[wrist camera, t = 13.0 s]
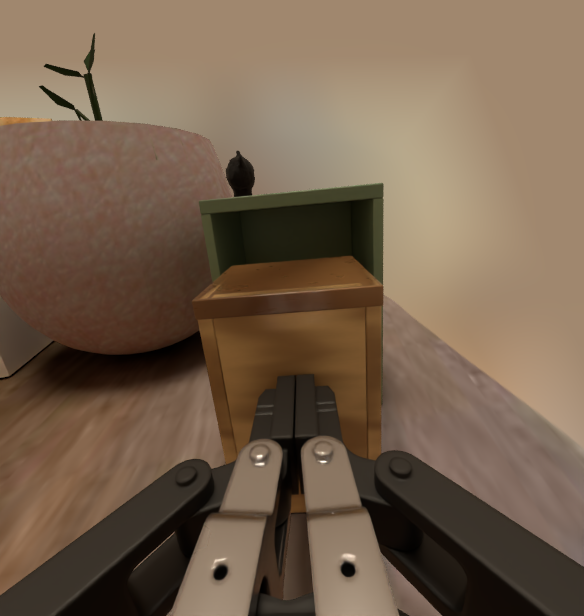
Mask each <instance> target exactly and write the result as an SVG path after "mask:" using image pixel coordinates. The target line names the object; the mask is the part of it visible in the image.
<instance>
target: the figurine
mask: <svg viewBox="0 0 584 616" xmlns="http://www.w3.org/2000/svg"><path fill="white" fill-rule="evenodd" d="M236 153H237V156H236V157H235V158H232V159H231V160H230V162H229V164H228V167H227V169H226V176H227V177H226V178H227V180H228V182H229V185H230V186H231V188H232V189H233V191H234V197H241V196H252V187H253V185H254V180H255V177H254V169H253V166H252V165H251V163H250V162H249V161H248V160H247V159H245V158H244V157H242V155H241V154H240V152H239V151H237V152H236ZM239 212H240V211H239Z"/></svg>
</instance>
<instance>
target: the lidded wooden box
mask: <svg viewBox="0 0 584 616" xmlns="http://www.w3.org/2000/svg"><path fill="white" fill-rule="evenodd" d="M192 305H193V310H194V315H195V319H196V320H198V325H199V330H200V335H201V340H202V345H203V350H204V355H205V360H206V365H207V370H208V376H209V381H210V386H211V391H212V396H213V401H214V406H215V411H216V416H217V421H218V426H219V431H220V436H221V441H222V446H223V451H224V456H225V461H226V464H229V463H231V462H233V461H235V460H236V459H237V457H238V454H239V452H240V451H241V449H242V448H243V447H244V446H245V445H246V444H248V443H249V439H250V435H251V430H252V426H253V421H254V416H255V412H256V408H257V403H258V398H259V396H260V395H261V394H262V393H263V392H264V390H265V389H276V384H277V377H278V376H288V375H295V376H296V377H297V375H303V374H314V381H315V386H327V385H328V386H329V387H330V388H331V389H332V391H333V392H334V393H335V399H336V405H337V411H338V416H339V422H340V428H341V434H342V439H343V442H344V444H345V446H346V447H347V449H348V450H349V451H351V452H352V453H354V454H355V455H357V456H360V457H363V458H367V459H371V460H375V461H376V459H377V457H378V456H379V455H381V306H383V285H382V284H381V283H380V282H379V281H378V280H377V279H376V278H375V277H374V276H372V275H371V274H370V273H369V272H368V271H367V270H366V269H365V268H364V267H363V266H362V265H361V264H360V263H359V262H358V261H357V260H356V259H355V258H353V257H352V256H341V257H329V258H317V259H306V260H294V261H282V262H270V263H258V264H246V265H235V266H231V267H230V268H229V269H228V270H226V271H225V272H224V273H223V274H222V275H221V276H220V277H218V278H217V279H216V280H215V281H214V282H213V283H212V284H210V285H209V286H208V287H207V288H206V289H205V290H204V291H202V292H201V293H200V294H199V295H198V296H197V297H196V298H194V299H193V300H192ZM300 512H306V505H305V494H301V491H300V481H299V495H292V498H291V511H290V513H300Z"/></svg>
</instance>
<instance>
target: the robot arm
mask: <svg viewBox="0 0 584 616" xmlns="http://www.w3.org/2000/svg"><path fill="white" fill-rule="evenodd" d="M299 481H300V491H301V494H305V505H306V516H307V527H308V538H309V549H310V559H311V570H312V581H313V591H314V592H312V593H309V594H307V595H304V596H301V597H298V598H295V599H292V600H283V587H284V576H285V567H286V558H287V549H288V540H289V531H290V521H291V516H290V511H291V498H292V495H299ZM174 531H175V533H174V534H173V535H172V536H171V537H170V538H169V539H168V540H167V541H165V542H164V543H163V544H162V545H161V546H160V547H159V548H158V549H157V550H156V551H154V552H153V553H152V554H151V555H150V556H149V557H148V558H147V559H146V560H145V561H143V562H142V563H141V564H140V565H139V566H138V567H137V568H136V569H135V570H134V568H135V567H136V566H137V565H138V564H139V563H140V562H141V561H142V560H143V559H145V558H146V557H147V556H148V555H149V554H150V553H151V552H152V551H153V550H154V549H156V548H157V547H158V546H159V545H160V544H161V543H162V542H163V541H164V540H166V539H167V538H168V537H169V536H170V535H171V534H172V533H173V532H174ZM381 553H382V554H383V555H384V556H385V557H386V558H387V560H388V561H389V562H390V563H391V564H392V565H393V566H394V567H395V568H396V569H397V570H398V571H399V572H400V573H401V574H402V575H403V576H404V577H405V578H406V579H407V580H408V581H409V582H410V583H411V584H412V585H413V586H414V587H415V588H416V589H417V590H418V591H419V592H420V593H421V594H422V595H423V596H424V597H425V598H426V599H427V600H428V601H429V603H430V604H431V605H432V606H433V607H434V608H435V609H436V610H437V611H438V612H439V613H440V614H441V615H442V616H584V567H583V566H581V565H580V564H578V563H577V562H575V561H574V560H572V559H571V558H569V557H568V556H566V555H564V554H563V553H561V552H560V551H558V550H557V549H555V548H554V547H552V546H551V545H549V544H548V543H546V542H545V541H543V540H542V539H540V538H538V537H537V536H535V535H534V534H532V533H531V532H529V531H528V530H526V529H525V528H523V527H522V526H520V525H519V524H517V523H516V522H514V521H513V520H511V519H509V518H508V517H506V516H505V515H503V514H502V513H500V512H499V511H497V510H496V509H494V508H493V507H491V506H490V505H488V504H487V503H485V502H484V501H482V500H480V499H479V498H477V497H476V496H474V495H473V494H471V493H470V492H468V491H467V490H465V489H464V488H462V487H461V486H459V485H458V484H456V483H454V482H453V481H451V480H450V479H448V478H447V477H445V476H444V475H442V474H441V473H439V472H438V471H436V470H435V469H433V468H432V467H430V466H429V465H427V464H425V463H424V462H422V461H421V460H419V459H418V458H416V457H415V456H413V455H411V454H409V453H406V452H403V451H395V450H394V451H387V452H384V453H382V454H381V455H379V456H378V457H377V459H376V461H375V460H371V459H367V458H363V457H360V456H357V455H355V454H354V453H352V452H351V451H349V450H348V449H347V447H346V446H345V444H344V442H343V439H342V434H341V428H340V422H339V416H338V411H337V405H336V399H335V393H334V392H333V391H332V389H331V388H330V387H329V386H328V385H327V386H315V381H314V374H303V375H297V377H296V376H295V375H288V376H278V377H277V384H276V389H265V390H264V392H263V393H262V394H261V395H260V396H259V398H258V403H257V408H256V412H255V416H254V421H253V426H252V430H251V435H250V439H249V443H248V444H246V445H245V446H244V447H243V448H242V449H241V451H240V452H239V454H238V457H237V459H236V460H235V461H233V462H231V463H229V464H226V465H223V466H220V467H217V468H214V469H211V468H210V465H209V464H208V463H207V462H205V461H204V460H200V459H191V460H187V461H184V462H182V463H180V464H178V465H176V466H175V467H173V468H172V469H171V470H169V471H168V472H167V473H165V474H164V475H163V476H161V477H160V478H158V479H157V480H156V481H154V482H153V483H152V484H150V485H149V486H148V487H146V488H145V489H144V490H142V491H141V492H140V493H138V494H137V495H135V496H134V497H133V498H131V499H130V500H129V501H127V502H126V503H125V504H123V505H122V506H121V507H119V508H118V509H117V510H115V511H114V512H113V513H111V514H110V515H108V516H107V517H106V518H104V519H103V520H102V521H100V522H99V523H98V524H96V525H95V526H94V527H92V528H91V529H90V530H88V531H87V532H86V533H84V534H83V535H81V536H80V537H79V538H77V539H76V540H75V541H73V542H72V543H71V544H69V545H68V546H67V547H65V548H64V549H63V550H61V551H60V552H58V553H57V554H56V555H54V556H53V557H52V558H50V559H49V560H48V561H46V562H45V563H44V564H42V565H41V566H40V567H38V568H37V569H36V570H34V571H33V572H31V573H30V574H29V575H27V576H26V577H25V578H23V579H22V580H21V581H19V582H18V583H17V584H15V585H14V586H13V587H11V588H10V589H8V590H7V591H6V592H4V593H3V594H2V595H0V616H166V615H167V614H168V613H169V612H170V610H171V609H172V611H171V613H170V616H409V615H407V614H406V613H404V612H402V611H401V610H399V609H397V606H396V603H395V599H394V596H393V593H392V589H391V586H390V582H389V579H388V576H387V572H386V569H385V566H384V562H383V559H382V556H381ZM133 570H134V571H133Z"/></svg>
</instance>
